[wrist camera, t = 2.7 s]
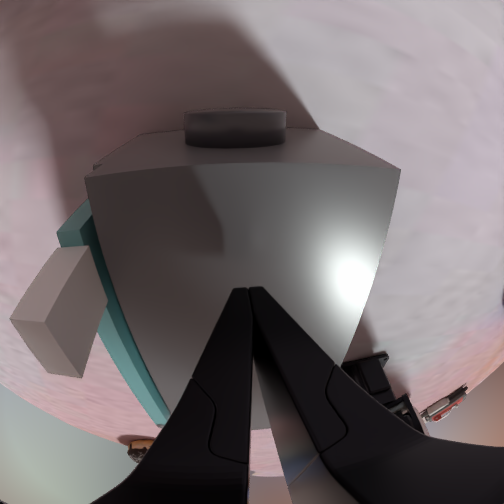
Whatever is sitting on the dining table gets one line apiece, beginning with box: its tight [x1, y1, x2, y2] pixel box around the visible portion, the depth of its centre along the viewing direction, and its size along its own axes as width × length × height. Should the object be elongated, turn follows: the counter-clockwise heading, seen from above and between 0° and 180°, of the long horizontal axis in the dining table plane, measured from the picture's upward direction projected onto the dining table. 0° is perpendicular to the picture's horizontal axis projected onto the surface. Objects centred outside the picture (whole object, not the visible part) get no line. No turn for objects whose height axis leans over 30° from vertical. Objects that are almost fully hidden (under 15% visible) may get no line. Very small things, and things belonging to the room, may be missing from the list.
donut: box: [127, 440, 154, 463], centre depth 38 cm, size 11×12×4 cm
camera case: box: [85, 108, 401, 430], centre depth 15 cm, size 19×10×8 cm, turn 179°
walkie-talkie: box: [420, 386, 468, 422], centre depth 48 cm, size 9×4×20 cm
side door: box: [10, 198, 171, 428], centre depth 14 cm, size 16×1×11 cm, turn 0°
